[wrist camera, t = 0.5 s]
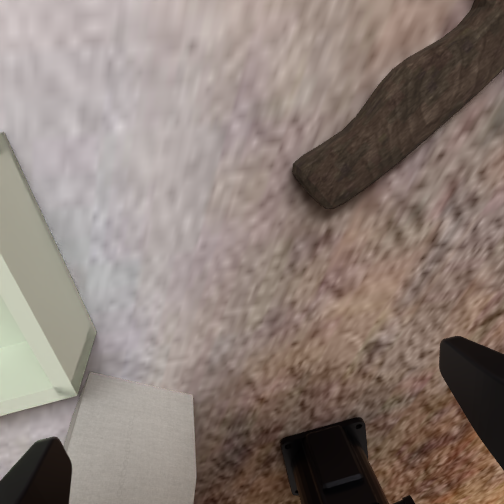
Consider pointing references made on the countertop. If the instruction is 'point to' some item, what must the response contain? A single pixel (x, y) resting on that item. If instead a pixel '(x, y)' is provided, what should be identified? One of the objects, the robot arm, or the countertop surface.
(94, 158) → the countertop surface
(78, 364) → the box
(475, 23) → the cleaver
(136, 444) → the tea bag
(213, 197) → the countertop surface
